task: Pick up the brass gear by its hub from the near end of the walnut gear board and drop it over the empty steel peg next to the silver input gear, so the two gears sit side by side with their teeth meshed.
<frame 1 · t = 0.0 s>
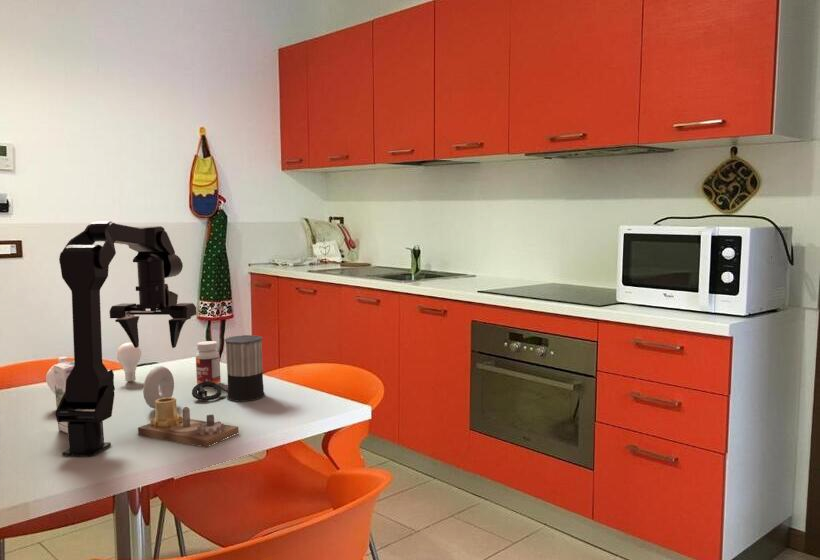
hand: (155, 347, 159), 15 cm above the table, tool pointing down, fingers open, 9 cm apart
pill bottle: (209, 384, 184), on the table
spinning top: (66, 407, 164), on the table
gear board: (188, 434, 141), on the table
lightbulb: (130, 382, 188), on the table
syrup box: (77, 431, 146), on the table
brass gear: (166, 423, 144), point 2 cm above the table, touching gear board
milk frother: (229, 398, 169), on the table
donut: (160, 409, 161), on the table
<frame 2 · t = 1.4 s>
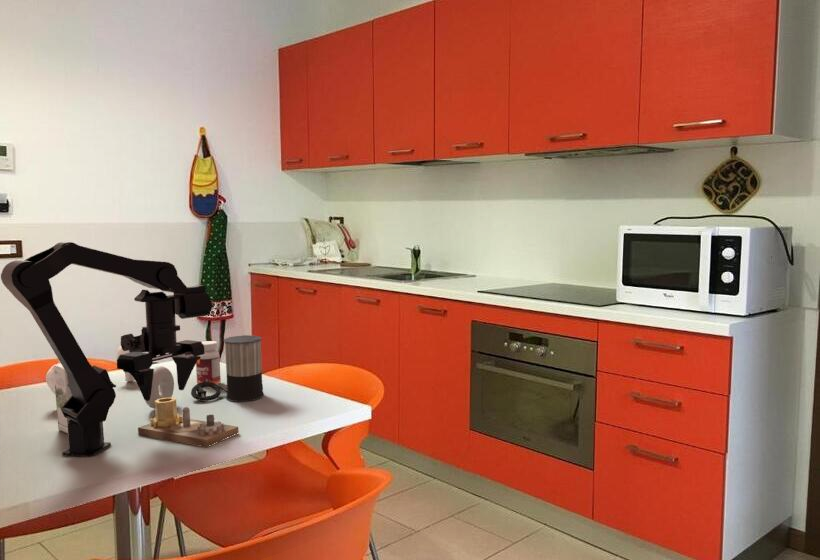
hand: (164, 395, 143), 8 cm above the table, tool pointing down, fingers open, 9 cm apart
nothing on the table moved.
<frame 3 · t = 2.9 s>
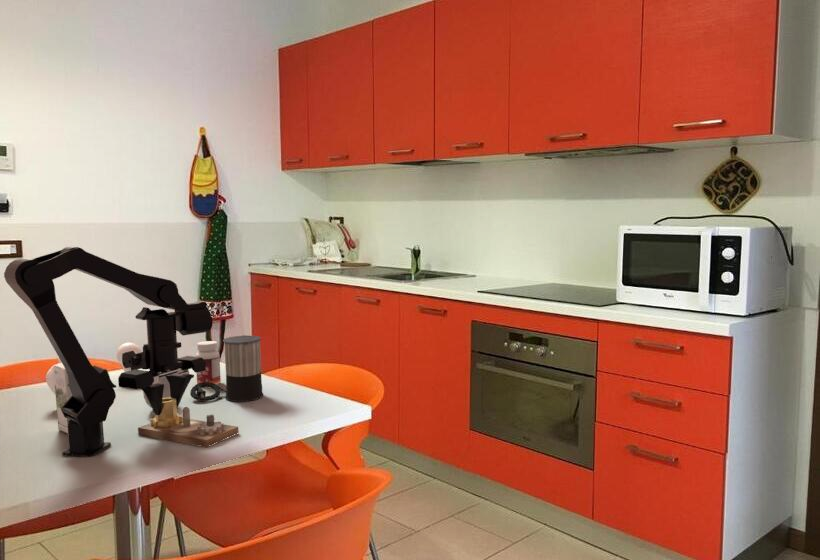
hand: (166, 411, 144), 4 cm above the table, tool pointing down, fingers closed on brass gear, 4 cm apart
brass gear: (166, 423, 144), point 2 cm above the table, touching gear board, gripper
everything else where it was.
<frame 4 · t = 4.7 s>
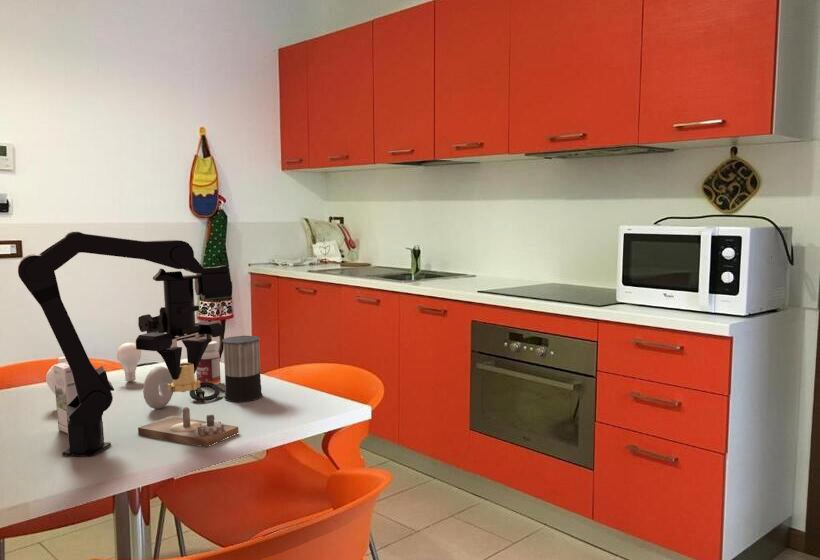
hand: (183, 376, 141), 12 cm above the table, tool pointing down, fingers closed on brass gear, 4 cm apart
brass gear: (184, 388, 141), point 10 cm above the table, touching gripper
everything else where it was.
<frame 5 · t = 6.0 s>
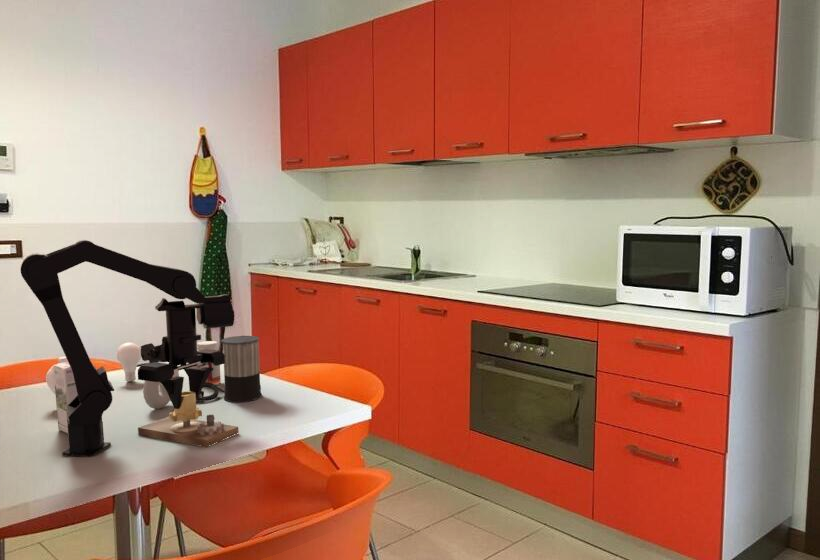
hand: (185, 405, 141), 6 cm above the table, tool pointing down, fingers closed on brass gear, 4 cm apart
brass gear: (186, 417, 141), point 4 cm above the table, touching gripper
everything else where it was.
when the fingers open (5 cm above the table, at t = 7.1 s): brass gear stays where it is, resting on gear board.
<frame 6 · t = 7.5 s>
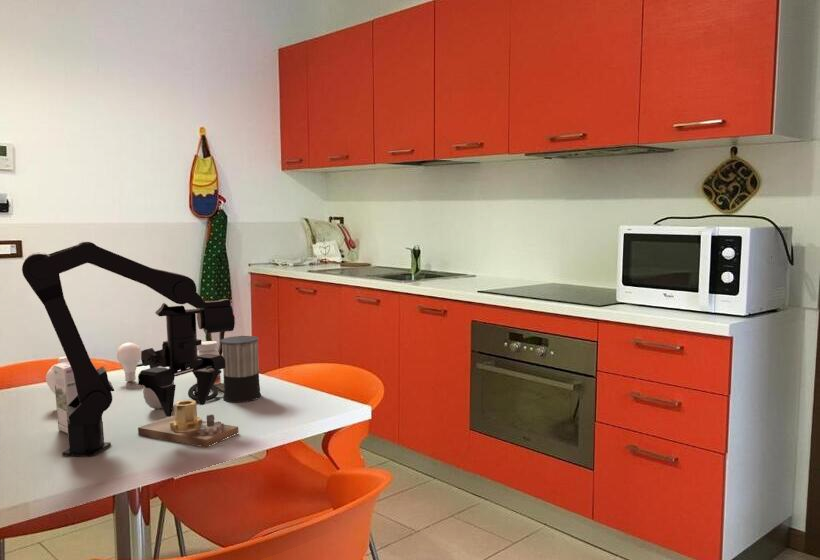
hand: (185, 410, 141), 5 cm above the table, tool pointing down, fingers open, 9 cm apart
brass gear: (186, 426, 141), point 2 cm above the table, touching gear board
everything else where it was.
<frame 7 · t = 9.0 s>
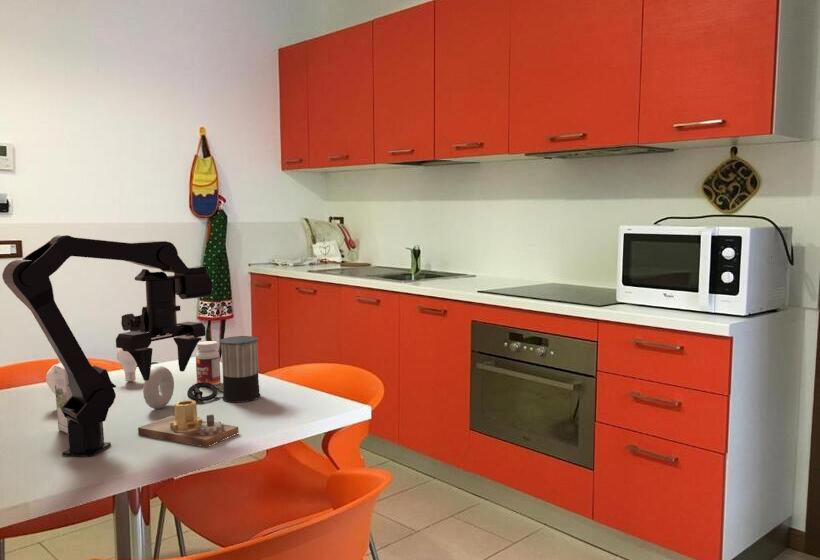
hand: (164, 375, 143), 12 cm above the table, tool pointing down, fingers open, 9 cm apart
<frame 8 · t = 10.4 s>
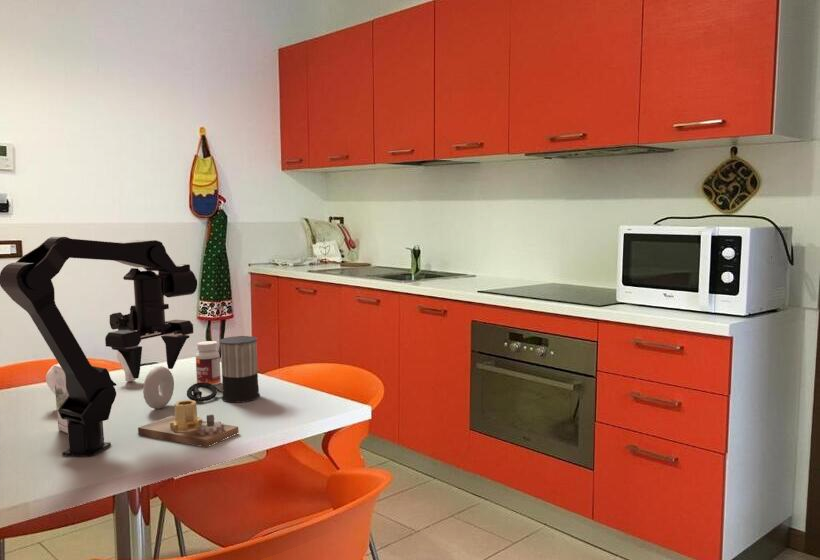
hand: (153, 373, 144), 12 cm above the table, tool pointing down, fingers open, 9 cm apart
at the end: brass gear 0.0 cm from the target spot, point 1.6 cm above the table; brass gear tilted 0°; the gripper is holding nothing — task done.
